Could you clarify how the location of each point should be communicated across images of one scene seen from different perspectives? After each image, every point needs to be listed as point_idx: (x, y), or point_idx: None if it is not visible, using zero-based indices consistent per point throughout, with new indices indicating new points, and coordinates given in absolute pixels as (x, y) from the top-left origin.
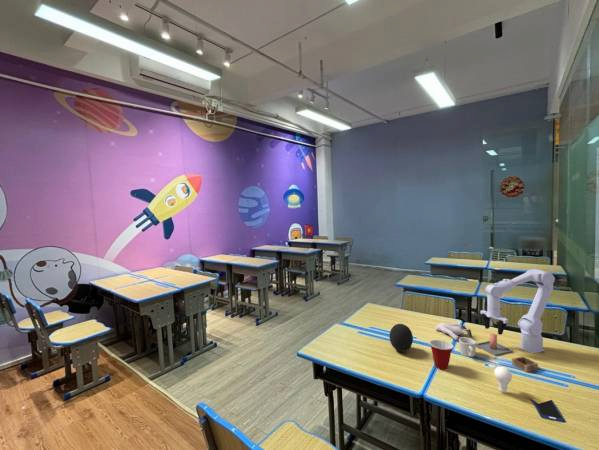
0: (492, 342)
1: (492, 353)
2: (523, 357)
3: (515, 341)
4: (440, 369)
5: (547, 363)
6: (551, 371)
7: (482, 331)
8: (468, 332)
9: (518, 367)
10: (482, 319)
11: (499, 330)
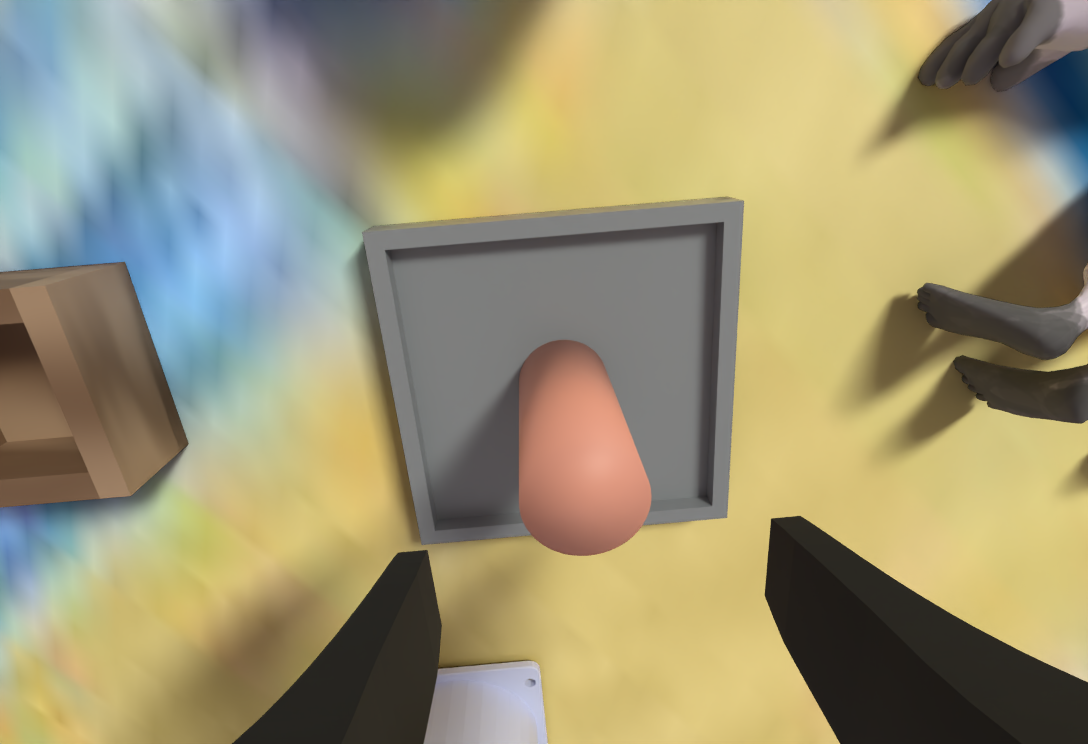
0: (545, 390)
1: (410, 227)
2: (94, 479)
3: (642, 728)
4: None
5: (170, 658)
6: (2, 574)
7: (981, 608)
8: (1035, 319)
9: (6, 273)
10: (1084, 690)
11: (336, 639)
